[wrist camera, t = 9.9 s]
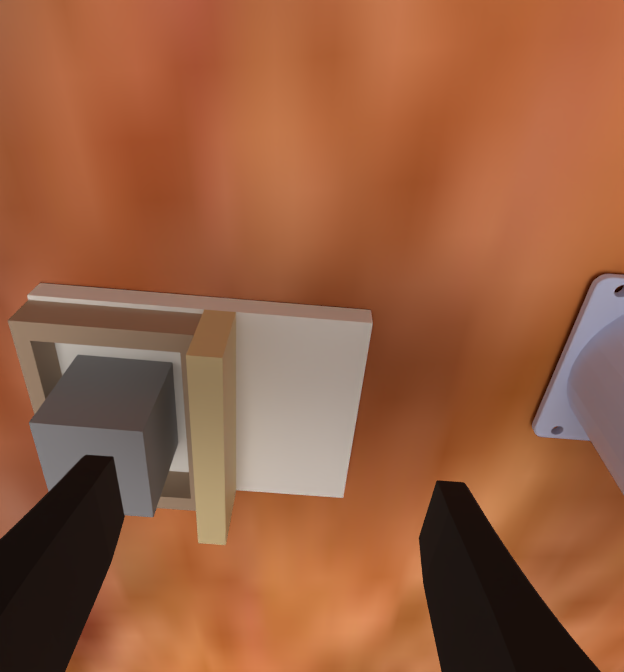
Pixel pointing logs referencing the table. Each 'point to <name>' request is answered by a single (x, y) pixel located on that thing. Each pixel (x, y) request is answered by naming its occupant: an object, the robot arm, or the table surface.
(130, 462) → the gray block
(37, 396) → the door board
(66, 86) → the table surface
